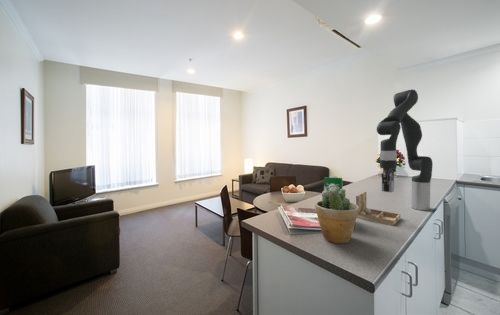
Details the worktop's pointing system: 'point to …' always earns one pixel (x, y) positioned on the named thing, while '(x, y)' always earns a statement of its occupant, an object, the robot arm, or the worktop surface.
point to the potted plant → (336, 215)
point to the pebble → (368, 211)
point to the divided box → (375, 212)
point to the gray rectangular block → (391, 186)
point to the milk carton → (332, 182)
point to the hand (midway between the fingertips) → (387, 190)
